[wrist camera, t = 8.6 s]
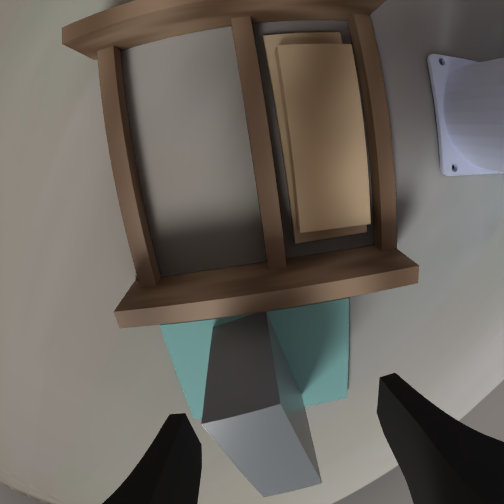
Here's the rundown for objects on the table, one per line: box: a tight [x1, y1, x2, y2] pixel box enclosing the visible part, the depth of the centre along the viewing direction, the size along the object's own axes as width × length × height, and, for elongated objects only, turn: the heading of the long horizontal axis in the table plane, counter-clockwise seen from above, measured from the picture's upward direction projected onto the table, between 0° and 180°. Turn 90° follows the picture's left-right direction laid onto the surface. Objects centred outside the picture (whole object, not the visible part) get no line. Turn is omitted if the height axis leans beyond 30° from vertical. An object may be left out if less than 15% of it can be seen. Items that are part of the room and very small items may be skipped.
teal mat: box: [160, 297, 349, 419], centre depth 21 cm, size 12×9×1 cm
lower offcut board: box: [263, 32, 367, 243], centre depth 17 cm, size 4×12×1 cm, turn 9°
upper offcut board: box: [275, 44, 371, 233], centre depth 16 cm, size 4×10×1 cm, turn 7°
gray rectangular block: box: [201, 311, 322, 497], centre depth 17 cm, size 4×8×8 cm, turn 21°
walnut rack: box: [62, 0, 419, 328], centre depth 15 cm, size 16×16×4 cm
